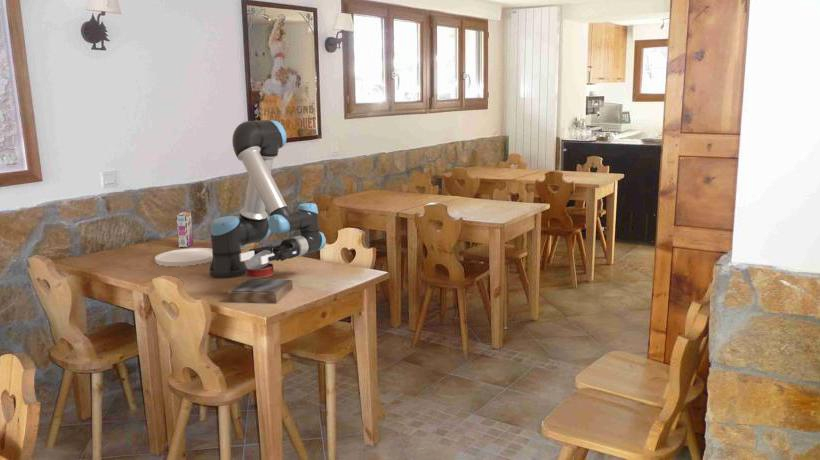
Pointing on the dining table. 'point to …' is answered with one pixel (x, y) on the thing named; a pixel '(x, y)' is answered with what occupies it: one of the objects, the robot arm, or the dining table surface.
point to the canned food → (259, 266)
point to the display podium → (260, 291)
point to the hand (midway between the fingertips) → (250, 259)
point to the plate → (184, 257)
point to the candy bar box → (184, 229)
